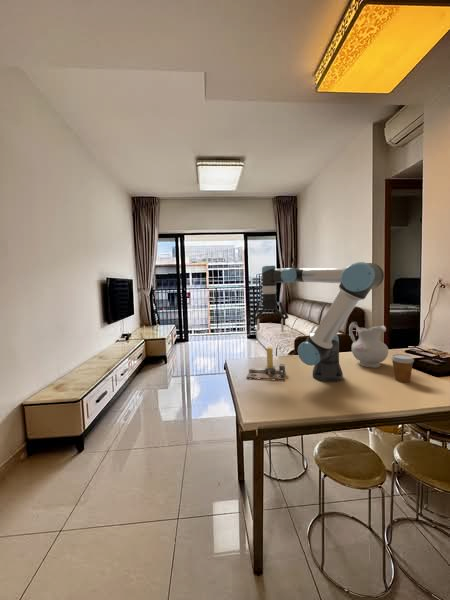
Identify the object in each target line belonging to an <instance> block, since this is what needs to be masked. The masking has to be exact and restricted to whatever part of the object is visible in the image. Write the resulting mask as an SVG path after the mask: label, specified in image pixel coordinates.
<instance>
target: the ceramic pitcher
mask: <svg viewBox="0 0 450 600" xmlns="http://www.w3.org/2000/svg"><path fill="white" fill-rule="evenodd" d="M353 329H356V331H357V334H358V339H357V340H356V337H355V335H354V333H353ZM386 331H387V327H386V326H385V325H378V326H372V327H369V328H365V327H359V325H358V322H357V321H351V323H350V325H349V327H348V333H349V336H350V339H351V340H352V344H351V353H352V355H353V357H354V358H355V359H356V360H357V361H359V362H357V363H358V365H359V366H362V367H366V368H367V367H368V368H372V369H378V368H380V366H381V363H382V362H384V361H385V360H386V359H387V357H388V356H389V346H387V344H385V343H384V342H383V341H382V340H381V335H382V333H385V332H386Z"/></svg>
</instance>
